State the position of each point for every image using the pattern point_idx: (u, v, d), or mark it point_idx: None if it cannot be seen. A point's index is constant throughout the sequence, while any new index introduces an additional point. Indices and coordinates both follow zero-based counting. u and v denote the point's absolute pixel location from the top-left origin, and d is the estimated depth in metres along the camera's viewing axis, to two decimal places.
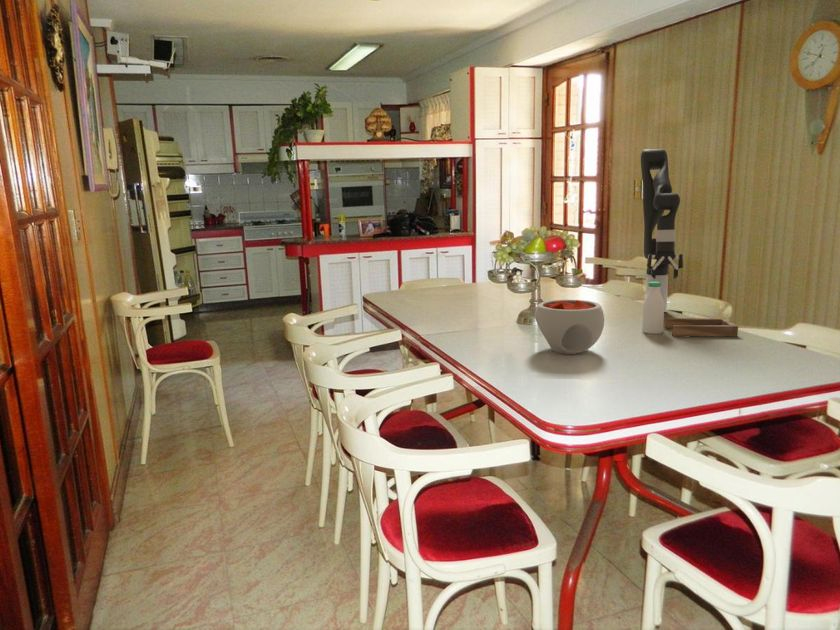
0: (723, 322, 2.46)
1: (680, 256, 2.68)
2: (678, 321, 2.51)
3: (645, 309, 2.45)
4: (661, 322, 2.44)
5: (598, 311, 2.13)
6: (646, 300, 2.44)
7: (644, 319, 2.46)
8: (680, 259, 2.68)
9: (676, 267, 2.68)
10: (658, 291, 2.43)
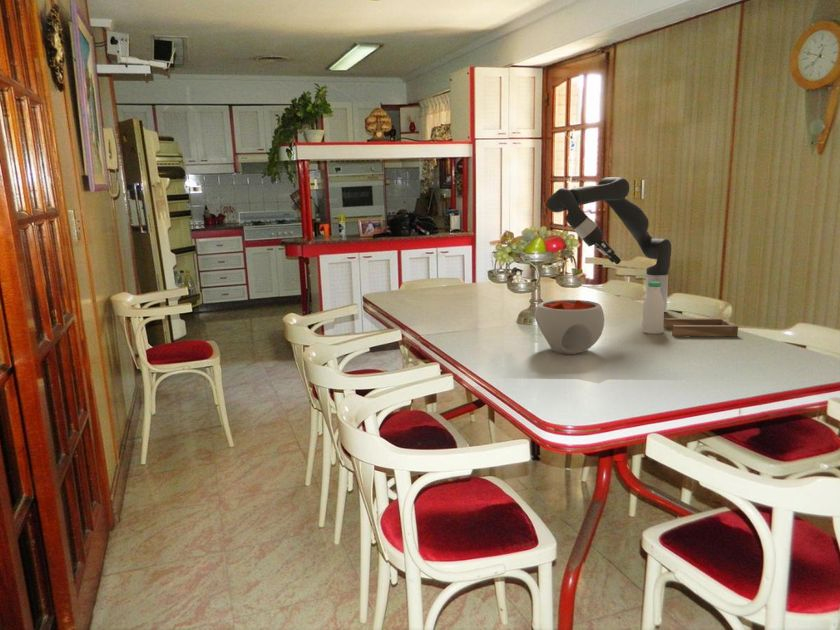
0: (723, 322, 2.46)
1: None
2: (678, 321, 2.51)
3: (645, 309, 2.45)
4: (661, 322, 2.44)
5: (598, 311, 2.13)
6: (646, 300, 2.44)
7: (644, 319, 2.46)
8: None
9: (608, 256, 2.39)
10: (658, 291, 2.43)
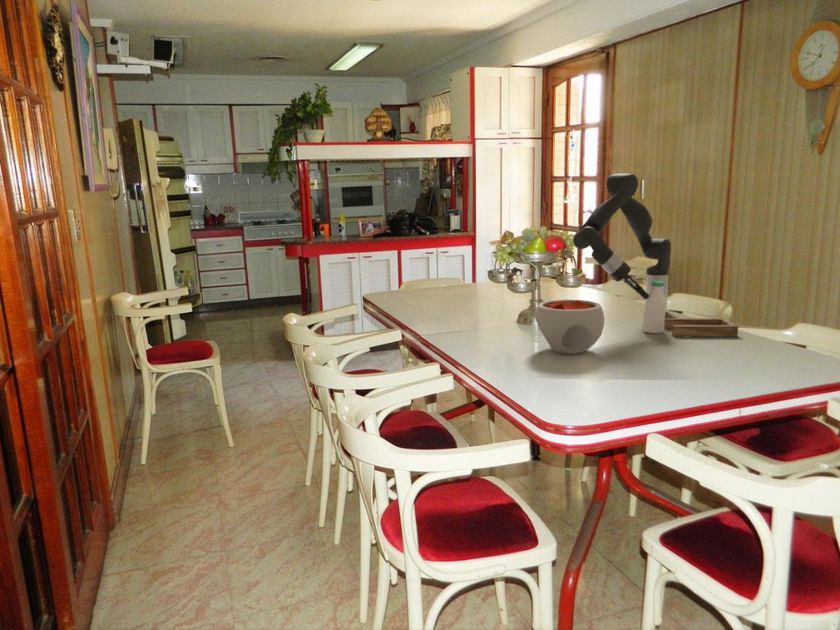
0: (723, 322, 2.46)
1: None
2: (678, 321, 2.51)
3: (647, 308, 2.45)
4: (662, 322, 2.44)
5: (598, 311, 2.13)
6: (648, 299, 2.44)
7: (645, 318, 2.46)
8: None
9: (636, 291, 2.45)
10: (661, 291, 2.43)
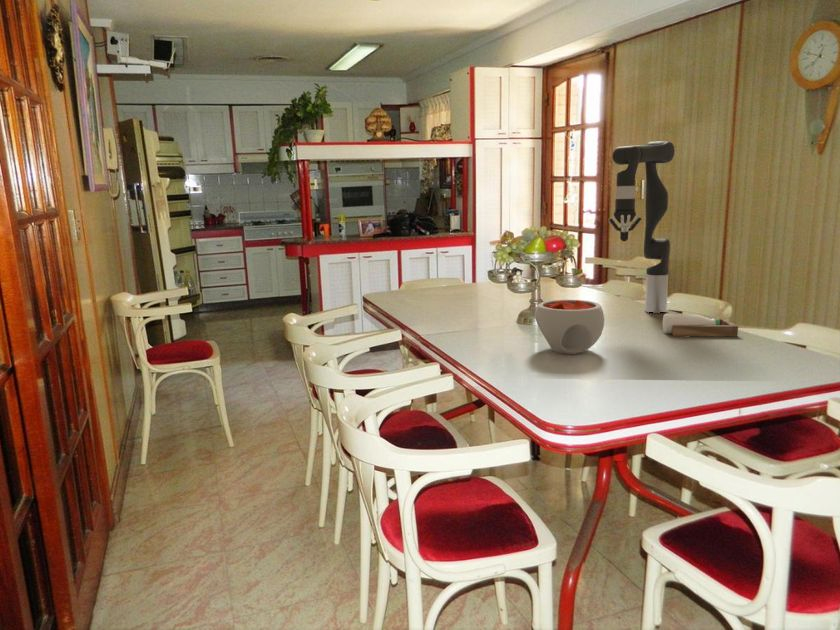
0: (723, 322, 2.46)
1: (638, 219, 2.51)
2: None
3: (692, 319, 2.40)
4: None
5: (598, 311, 2.13)
6: (701, 319, 2.40)
7: (681, 318, 2.41)
8: (636, 222, 2.51)
9: (626, 229, 2.52)
10: None
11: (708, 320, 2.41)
